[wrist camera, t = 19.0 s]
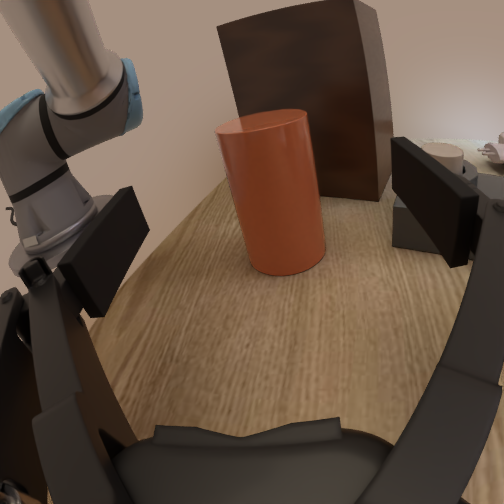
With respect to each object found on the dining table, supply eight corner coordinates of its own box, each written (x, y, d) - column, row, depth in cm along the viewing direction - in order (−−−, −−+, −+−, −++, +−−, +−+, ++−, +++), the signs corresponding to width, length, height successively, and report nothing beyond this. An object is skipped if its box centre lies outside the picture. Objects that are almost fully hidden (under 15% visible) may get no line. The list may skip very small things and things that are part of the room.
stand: (256, 191, 41) (216, 26, 29) (295, 159, 49) (266, 25, 37) (378, 201, 32) (352, -4, 20) (395, 164, 40) (375, 9, 28)
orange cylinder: (234, 267, 28) (195, 137, 22) (272, 226, 33) (246, 112, 26) (306, 283, 25) (280, 130, 18) (336, 235, 29) (320, 107, 22)
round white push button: (419, 176, 23) (420, 153, 22) (422, 160, 26) (422, 140, 25) (463, 182, 21) (465, 159, 20) (461, 165, 24) (462, 145, 23)
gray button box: (391, 246, 26) (392, 183, 22) (407, 196, 32) (406, 146, 29) (516, 268, 19) (532, 204, 16) (504, 211, 26) (511, 159, 22)
